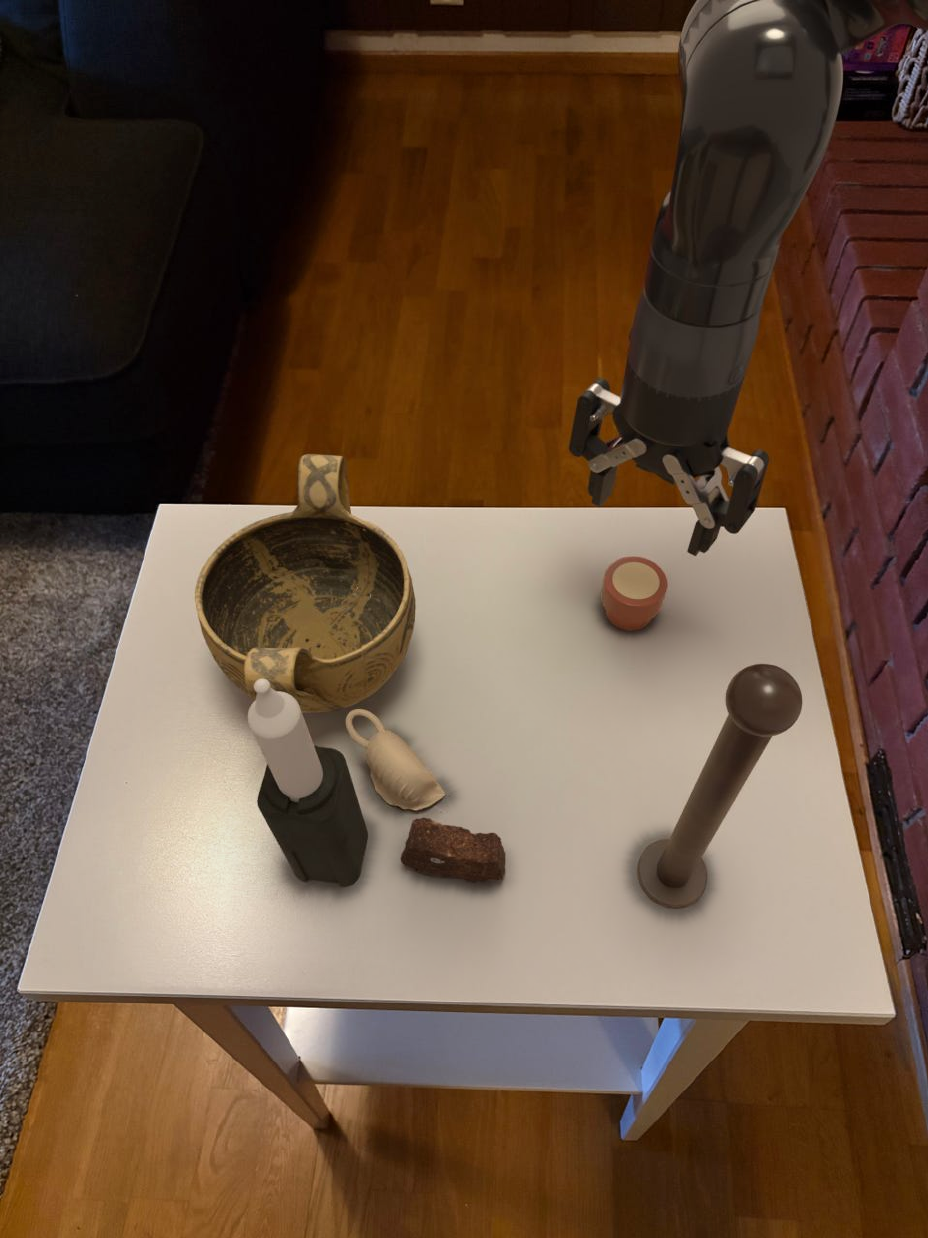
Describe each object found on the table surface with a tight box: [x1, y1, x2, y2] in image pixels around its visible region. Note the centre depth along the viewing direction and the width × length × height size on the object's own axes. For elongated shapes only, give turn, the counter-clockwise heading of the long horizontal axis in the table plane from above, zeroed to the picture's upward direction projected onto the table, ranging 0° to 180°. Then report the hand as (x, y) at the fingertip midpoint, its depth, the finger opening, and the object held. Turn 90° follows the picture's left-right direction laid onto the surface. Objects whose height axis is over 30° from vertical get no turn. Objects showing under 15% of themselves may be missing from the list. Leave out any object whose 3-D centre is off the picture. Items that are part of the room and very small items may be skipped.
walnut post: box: [637, 663, 803, 909], centre depth 53 cm, size 5×5×28 cm
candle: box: [247, 679, 369, 888], centre depth 56 cm, size 5×5×25 cm
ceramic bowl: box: [194, 453, 416, 713], centre depth 69 cm, size 22×17×15 cm
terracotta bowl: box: [600, 556, 668, 631], centre depth 76 cm, size 5×5×4 cm
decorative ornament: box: [345, 708, 446, 811], centre depth 67 cm, size 4×8×5 cm, turn 37°
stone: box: [400, 817, 506, 884], centre depth 63 cm, size 8×3×5 cm, turn 80°
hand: (648, 522), depth 68 cm, fingers open, 8 cm apart
